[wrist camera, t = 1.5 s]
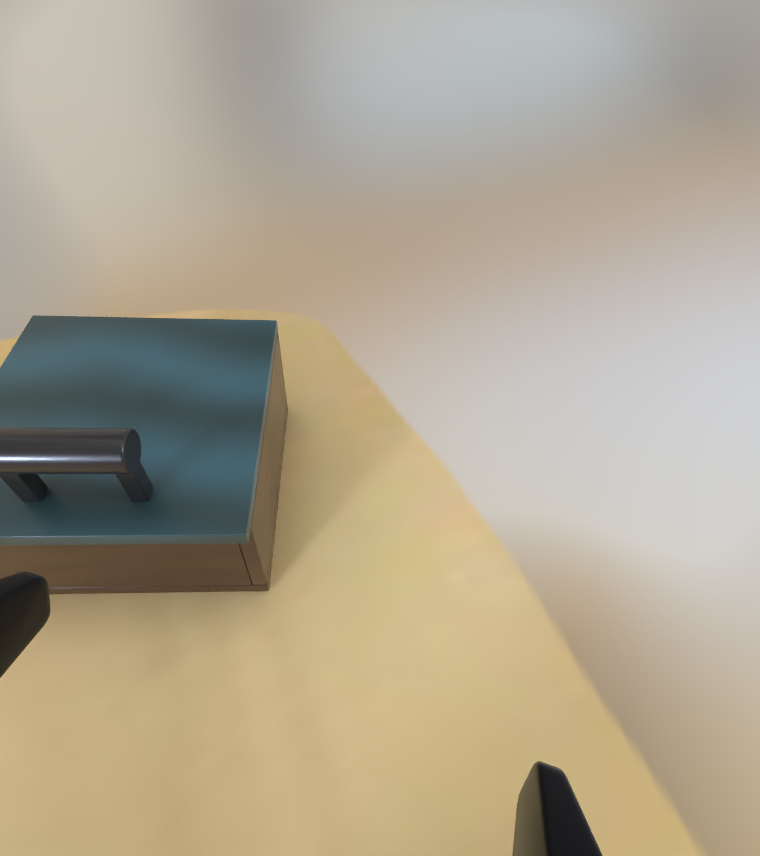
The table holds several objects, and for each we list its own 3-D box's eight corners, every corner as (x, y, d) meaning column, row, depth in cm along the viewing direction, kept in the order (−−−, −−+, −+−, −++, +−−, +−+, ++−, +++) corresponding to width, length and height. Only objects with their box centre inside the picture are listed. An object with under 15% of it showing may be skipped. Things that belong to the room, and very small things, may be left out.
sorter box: (268, 591, 25) (250, 528, 20) (2, 594, 24) (-83, 530, 19) (287, 408, 33) (278, 331, 28) (85, 407, 32) (39, 326, 27)
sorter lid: (248, 544, 20) (229, 481, 16) (-94, 546, 19) (-187, 481, 16) (278, 330, 28) (269, 259, 24) (38, 325, 27) (-4, 251, 24)
